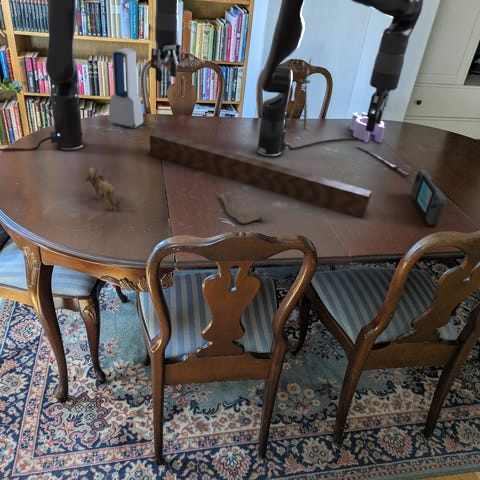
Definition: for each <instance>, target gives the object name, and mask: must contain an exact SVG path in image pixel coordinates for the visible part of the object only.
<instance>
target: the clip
mask: <svg viewBox="0 0 480 480" xmlns="http://www.w3.org/2000/svg"><path fill="white" fill-rule="evenodd" d="M358 114H359V113H358V112H353V114H352V118H351V122H350V126H349V129H350V130H351V131H353V132H352V136H353V138H356V137H358V139H357V140H361V141H363V142H364V143H368V142H369V140H370V135H372V136H374V139H373V140H374V142H376V143H382V140H383V137H384V132H385V129H386V127H385V122H384V121H383V120H381V121H380V123H379V124H377V123H376V124H375V128H374V131H373V132H370V131H366V126H367V122H368V117H367V114H368V113H366V112H361V115H358Z"/></svg>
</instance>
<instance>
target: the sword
mask: <svg viewBox="0 0 480 480" xmlns="http://www.w3.org/2000/svg"><path fill="white" fill-rule="evenodd" d="M357 148H358V149H359V150H361V151H365V152H366V153H368V154H370V155H371V156H374V157H375V158H377V159H378V160H380V161H382V162H384V164H386V165H388V166H390V168H392V169H394V170H397V171H398V172H400V173H401V174H402V175H404V176H406V177H410V174H408V173H407V172H406V171H404V170H403V169H402V168H400V166H398V165H395V164H394V163H392V162H389V161H388V160H386V159H385V158H383V157H381V156H379V155H377V154H376V153H373V152H372V151H370V150H368V149H366V148H363V147H358V146H357Z"/></svg>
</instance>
